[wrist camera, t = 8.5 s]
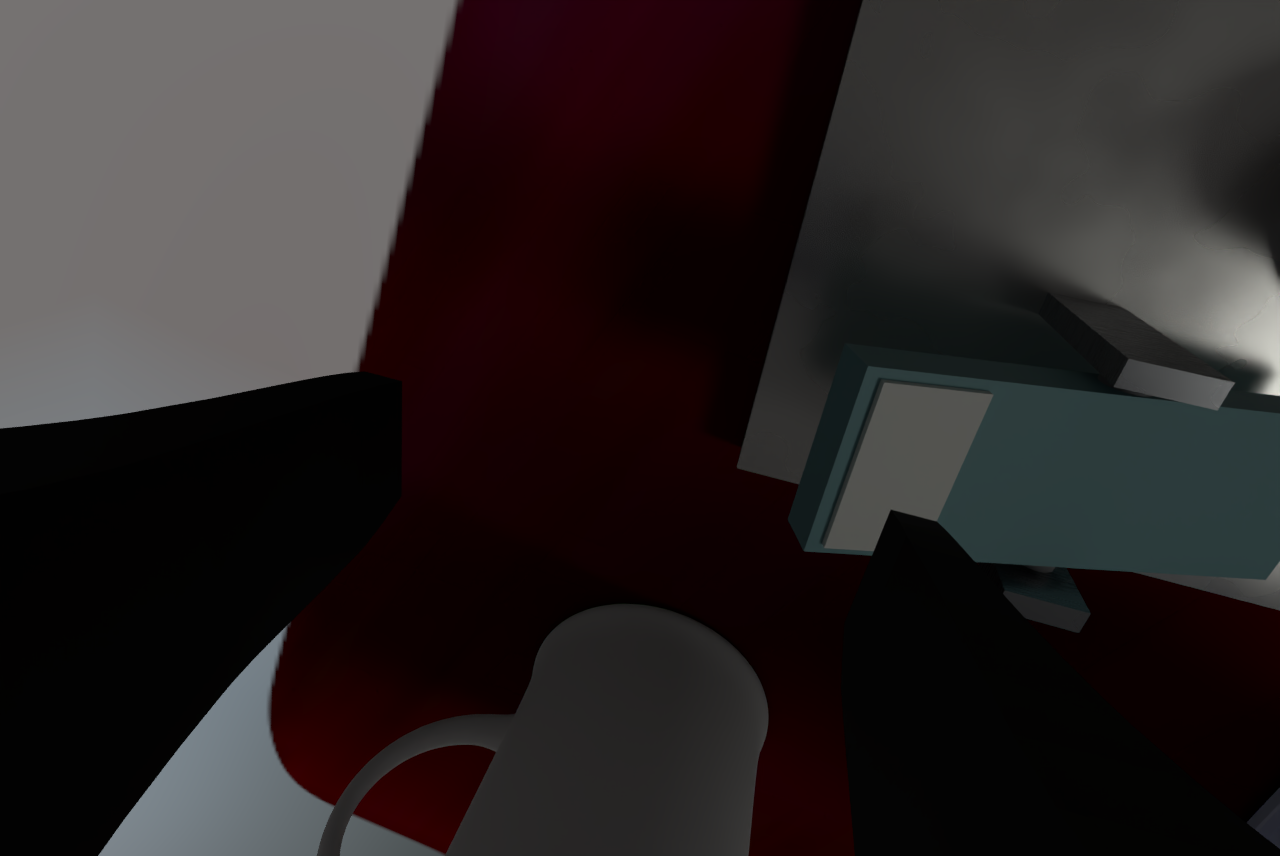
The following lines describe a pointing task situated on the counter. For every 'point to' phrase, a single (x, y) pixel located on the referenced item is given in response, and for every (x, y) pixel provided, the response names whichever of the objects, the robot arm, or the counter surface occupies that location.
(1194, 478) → the teal tile with stripe
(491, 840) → the mug
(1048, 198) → the panel
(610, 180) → the counter surface
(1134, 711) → the counter surface
